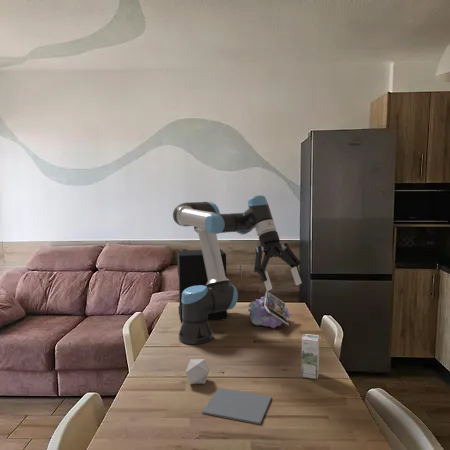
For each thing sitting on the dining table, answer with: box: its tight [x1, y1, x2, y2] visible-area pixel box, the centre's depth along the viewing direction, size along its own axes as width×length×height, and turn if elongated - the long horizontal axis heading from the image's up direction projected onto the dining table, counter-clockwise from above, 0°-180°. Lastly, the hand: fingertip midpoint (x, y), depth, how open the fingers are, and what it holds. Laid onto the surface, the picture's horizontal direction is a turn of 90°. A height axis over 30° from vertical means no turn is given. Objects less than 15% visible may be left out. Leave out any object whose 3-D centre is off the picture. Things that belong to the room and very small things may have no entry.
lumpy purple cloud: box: [247, 290, 292, 329], centre depth 195 cm, size 20×22×18 cm
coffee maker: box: [176, 248, 228, 323], centre depth 208 cm, size 28×20×35 cm
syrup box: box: [301, 333, 320, 380], centre depth 140 cm, size 6×6×14 cm
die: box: [185, 358, 210, 385], centre depth 137 cm, size 8×9×10 cm
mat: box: [201, 387, 272, 425], centre depth 122 cm, size 18×15×1 cm
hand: (284, 287), depth 142 cm, fingers open, 13 cm apart
